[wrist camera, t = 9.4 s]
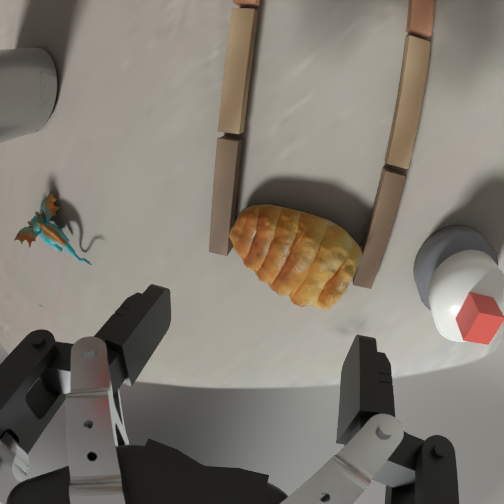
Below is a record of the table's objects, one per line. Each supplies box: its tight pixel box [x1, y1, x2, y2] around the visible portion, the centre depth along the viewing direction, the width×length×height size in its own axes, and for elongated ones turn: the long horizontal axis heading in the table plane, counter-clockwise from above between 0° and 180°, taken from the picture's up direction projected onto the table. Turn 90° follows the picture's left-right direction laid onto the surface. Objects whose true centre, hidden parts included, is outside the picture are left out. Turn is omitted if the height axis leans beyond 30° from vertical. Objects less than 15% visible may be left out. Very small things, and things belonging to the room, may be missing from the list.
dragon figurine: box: [15, 192, 91, 265], centre depth 29 cm, size 6×7×8 cm
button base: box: [414, 225, 498, 310], centre depth 21 cm, size 7×7×2 cm
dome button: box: [427, 250, 504, 344], centre depth 17 cm, size 6×6×5 cm
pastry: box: [229, 204, 362, 310], centre depth 23 cm, size 9×7×4 cm
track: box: [209, 0, 434, 289], centre depth 18 cm, size 13×28×1 cm, turn 173°
